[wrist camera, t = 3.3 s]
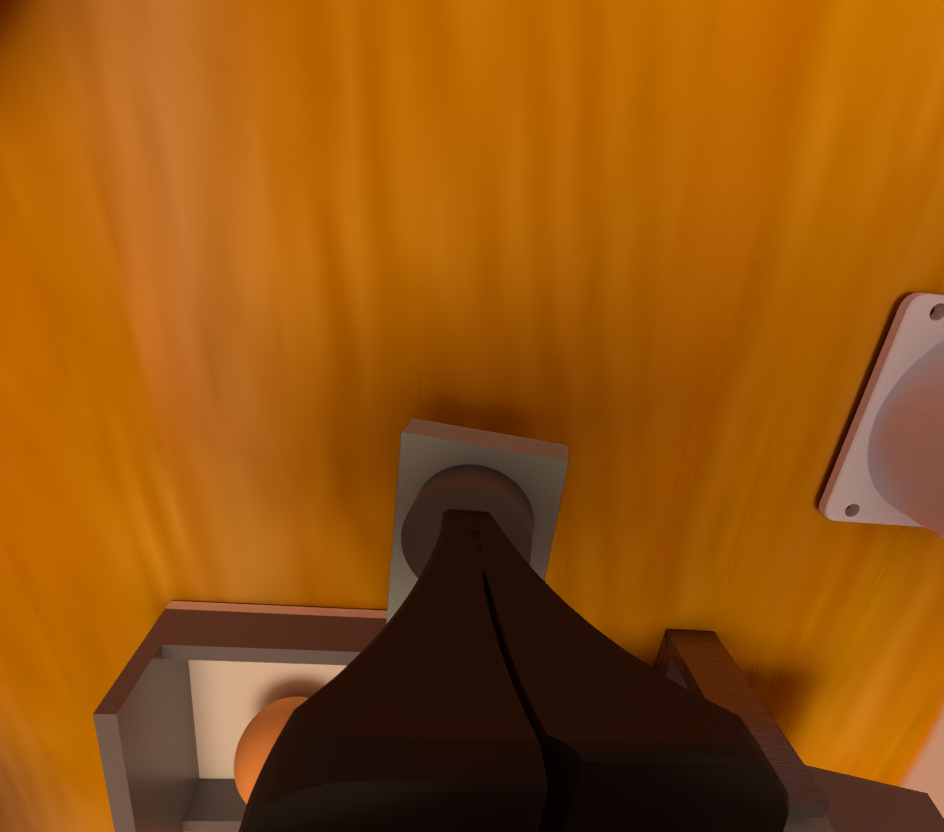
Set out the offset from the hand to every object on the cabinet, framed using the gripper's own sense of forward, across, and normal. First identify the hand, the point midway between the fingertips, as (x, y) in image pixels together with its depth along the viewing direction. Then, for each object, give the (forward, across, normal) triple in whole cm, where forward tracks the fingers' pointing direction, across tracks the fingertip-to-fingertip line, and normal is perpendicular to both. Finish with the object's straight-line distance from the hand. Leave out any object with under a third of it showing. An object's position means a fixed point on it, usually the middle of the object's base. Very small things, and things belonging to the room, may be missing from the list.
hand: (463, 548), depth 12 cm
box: (+6, +3, +12) cm, 13 cm away
